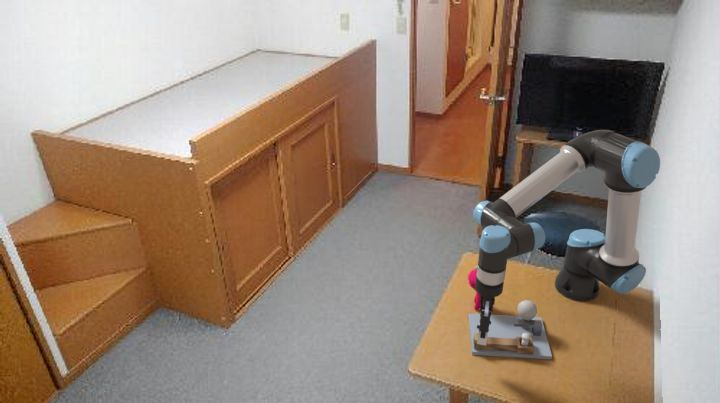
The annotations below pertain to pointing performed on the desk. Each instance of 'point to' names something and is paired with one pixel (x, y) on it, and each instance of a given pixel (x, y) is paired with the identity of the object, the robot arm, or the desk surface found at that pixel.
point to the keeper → (530, 325)
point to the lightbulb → (527, 310)
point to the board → (510, 336)
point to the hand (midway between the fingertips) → (481, 342)
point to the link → (505, 344)
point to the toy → (472, 283)
